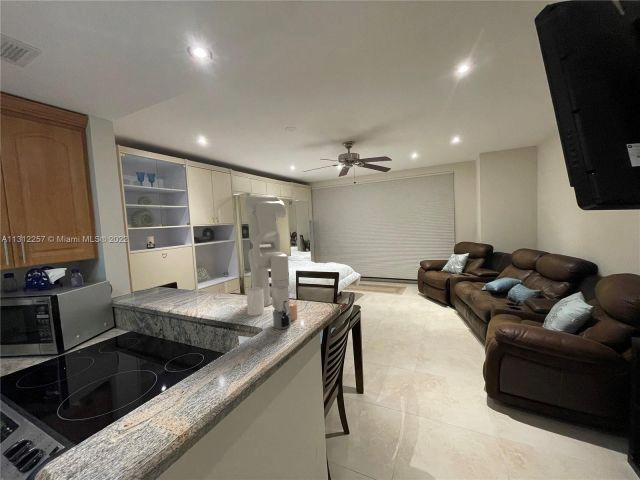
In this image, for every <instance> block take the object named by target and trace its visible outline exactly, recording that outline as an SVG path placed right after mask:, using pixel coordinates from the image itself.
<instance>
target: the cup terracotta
mask: <svg viewBox="0 0 640 480" xmlns="http://www.w3.org/2000/svg"><path fill="white" fill-rule="evenodd" d="M289 303H290V308H289V309H290V316H291V322H292V321H296V320H297V319H298V303H296V302H294V301H289Z"/></svg>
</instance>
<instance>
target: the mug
mask: <svg viewBox="0 0 640 480" xmlns="http://www.w3.org/2000/svg"><path fill="white" fill-rule="evenodd" d="M246 299H247V300H246V303H247V315H248V316H251V317H253V316H261V315H263V314H264V313H265V312H266V310H265V306H264V294H263V288H261V287H254V288H252V287H250V288H247V289H246Z"/></svg>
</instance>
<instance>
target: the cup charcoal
mask: <svg viewBox="0 0 640 480" xmlns="http://www.w3.org/2000/svg"><path fill="white" fill-rule="evenodd" d="M282 310H285V309H282ZM284 313H285V312H283V314H284ZM281 318H282V315H281V311H280V312H278V311H277V310H276V309H275V308H274V310H273V311H272V321H273V328H274V329H277V330H285V329H289V328H290V327H291V326H292V325H291V324H292V321H291V316H290V309H289V326H286V327H282V326H281Z"/></svg>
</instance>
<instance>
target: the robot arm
mask: <svg viewBox="0 0 640 480" xmlns="http://www.w3.org/2000/svg"><path fill="white" fill-rule="evenodd" d="M244 208H245V212H246V214H247V217H248V221H249V239H250V242H251V244H252V248H250V249H249V251H248V254H247V255H248V257H247V258H248V263H249V267H250V280H251V281H250V282H251V288H254V287H261V288H263V294H264V307H268V306H270V305H271V306H272V307H273V308H274V310H275V309H276V310H277V311H278V312H280V311H281V315H282V318H281V326H282V327H286V326H289V308H290V303H289V302H290V293H289V292H290V291H289V287H290V273H289V257H288V255H287V254H286V253H284V252H283V251H281V238H280V232H279V228H278V225H277V220H276V219H283V218H285V217H286V215H287V209H286V205H285V203H284V202H283V201H282V200H281V198H280V197H278V196H277V195H272V194H271V195H264V194H263V195H262V194H261V195H260V194H254V195H252V194H251V195H248V196H246V197H245V199H244ZM262 245H270V246H262ZM269 270H270V275H269ZM270 282H271V283H270ZM270 284H271V291H270ZM270 293H271V294H270ZM282 309H285V310H282ZM283 312H285V313H284V314H283Z"/></svg>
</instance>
